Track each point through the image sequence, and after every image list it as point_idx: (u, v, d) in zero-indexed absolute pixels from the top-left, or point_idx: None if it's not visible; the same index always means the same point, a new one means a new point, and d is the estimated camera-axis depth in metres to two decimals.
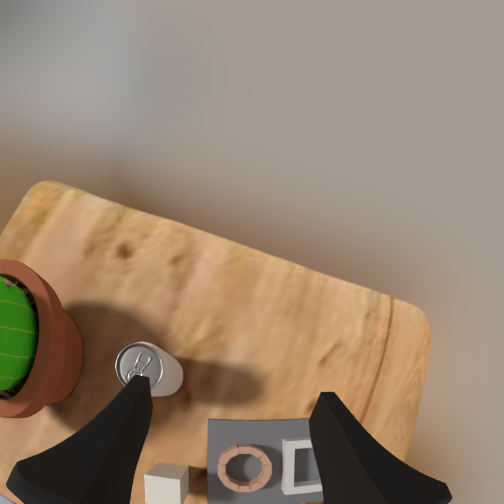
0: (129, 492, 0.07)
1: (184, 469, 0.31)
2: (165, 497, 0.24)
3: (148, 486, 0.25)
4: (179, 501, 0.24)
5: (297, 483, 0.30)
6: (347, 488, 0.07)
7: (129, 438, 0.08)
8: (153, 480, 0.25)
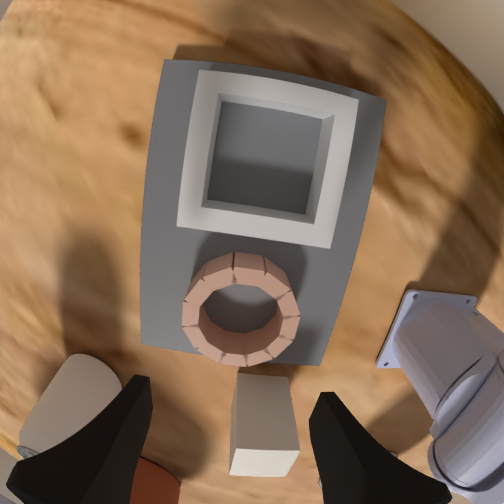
0: (129, 492, 0.07)
1: (236, 396, 0.21)
2: (274, 462, 0.17)
3: (251, 474, 0.18)
4: (284, 451, 0.16)
5: (311, 204, 0.17)
6: (347, 488, 0.07)
7: (129, 438, 0.08)
8: (239, 469, 0.17)
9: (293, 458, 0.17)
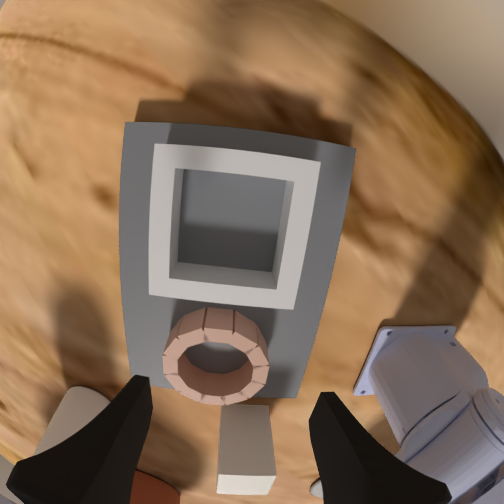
0: (129, 492, 0.07)
1: (220, 425, 0.22)
2: (254, 484, 0.18)
3: (236, 492, 0.19)
4: (261, 476, 0.17)
5: (275, 266, 0.17)
6: (347, 488, 0.07)
7: (129, 438, 0.08)
8: (224, 489, 0.18)
9: (271, 481, 0.18)
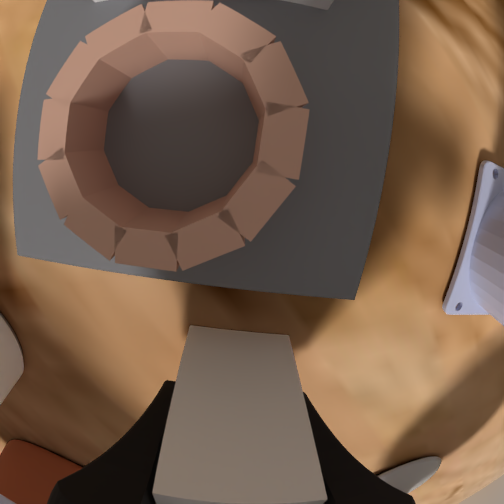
0: None
1: None
2: None
3: None
4: None
5: None
6: None
7: None
8: None
9: None
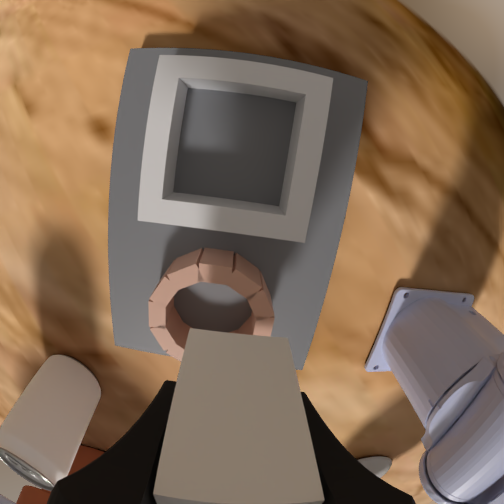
0: None
1: None
2: None
3: None
4: None
5: (284, 194, 0.15)
6: None
7: None
8: None
9: None
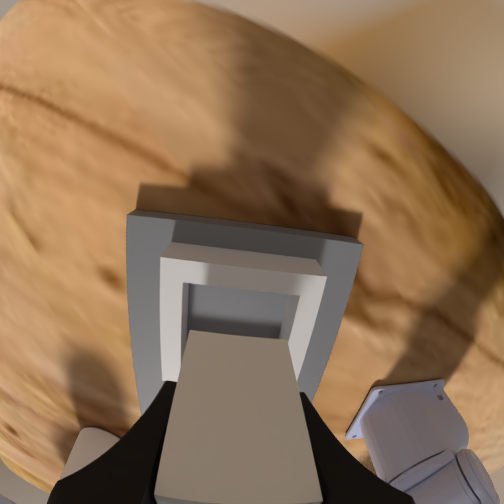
0: None
1: None
2: None
3: None
4: None
5: None
6: None
7: None
8: None
9: None
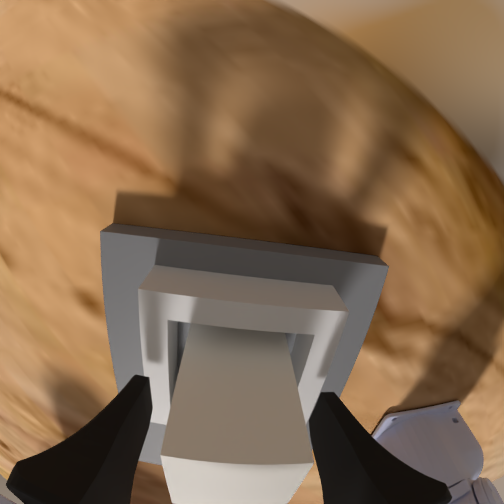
0: (129, 492, 0.07)
1: None
2: (256, 487, 0.07)
3: None
4: (275, 466, 0.07)
5: None
6: (347, 488, 0.07)
7: (129, 438, 0.08)
8: (187, 496, 0.08)
9: (298, 479, 0.07)
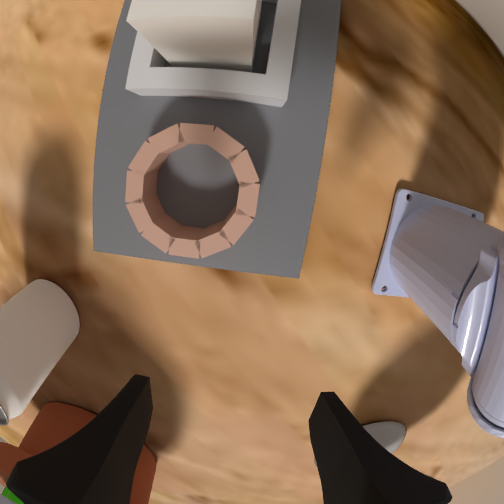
0: (129, 492, 0.07)
1: None
2: None
3: (174, 7, 0.07)
4: None
5: (266, 67, 0.14)
6: (347, 488, 0.07)
7: (129, 438, 0.08)
8: None
9: None
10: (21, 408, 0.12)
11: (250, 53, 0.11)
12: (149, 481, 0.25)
